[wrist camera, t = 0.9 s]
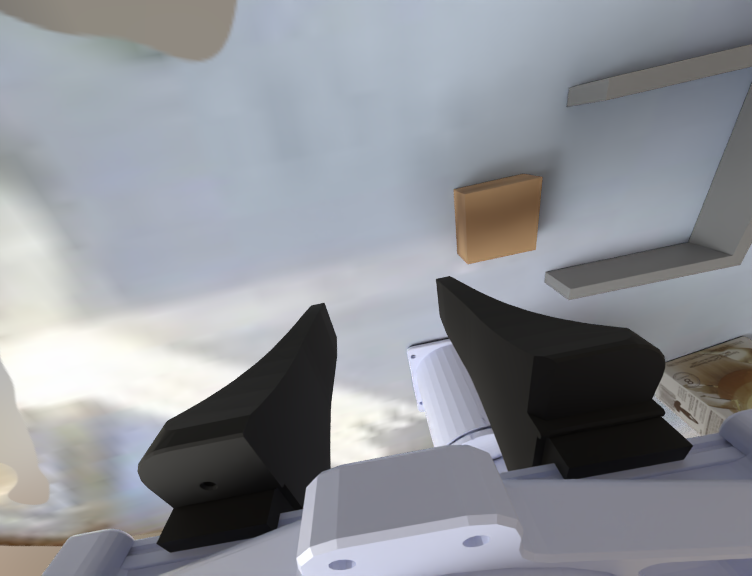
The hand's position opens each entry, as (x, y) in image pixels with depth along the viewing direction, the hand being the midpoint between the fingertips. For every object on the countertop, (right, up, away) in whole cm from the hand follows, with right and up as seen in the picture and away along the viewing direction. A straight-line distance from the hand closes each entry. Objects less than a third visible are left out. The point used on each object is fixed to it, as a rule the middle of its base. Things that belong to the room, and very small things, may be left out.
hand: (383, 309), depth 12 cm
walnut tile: (+8, +7, +8) cm, 13 cm away
